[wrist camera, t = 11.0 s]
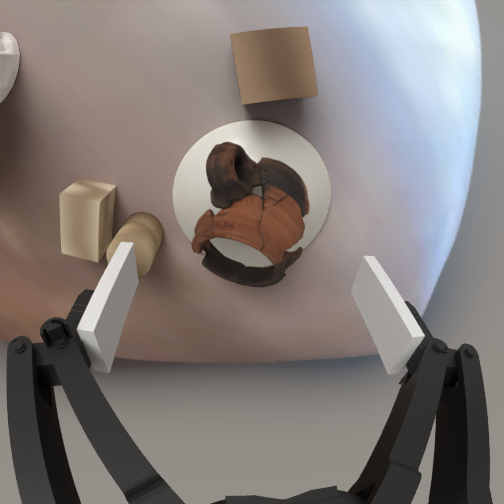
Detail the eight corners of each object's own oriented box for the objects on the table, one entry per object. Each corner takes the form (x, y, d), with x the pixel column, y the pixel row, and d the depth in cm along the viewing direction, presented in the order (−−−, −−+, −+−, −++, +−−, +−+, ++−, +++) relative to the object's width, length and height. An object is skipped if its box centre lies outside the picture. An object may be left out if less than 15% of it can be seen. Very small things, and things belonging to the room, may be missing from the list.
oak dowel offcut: (126, 247, 28) (110, 277, 24) (122, 211, 26) (103, 236, 22) (164, 250, 29) (152, 281, 24) (163, 213, 27) (149, 239, 22)
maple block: (78, 232, 27) (61, 253, 24) (80, 178, 24) (59, 193, 21) (112, 240, 28) (98, 262, 25) (116, 185, 25) (99, 202, 22)
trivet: (174, 260, 29) (173, 262, 29) (175, 115, 22) (174, 115, 22) (312, 269, 31) (313, 271, 30) (343, 132, 23) (344, 133, 23)
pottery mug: (326, 217, 28) (312, 295, 23) (240, 224, 32) (214, 291, 28) (281, 104, 19) (247, 176, 15) (180, 133, 24) (130, 200, 20)
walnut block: (241, 101, 22) (242, 104, 18) (231, 44, 19) (229, 34, 15) (302, 93, 22) (317, 96, 17) (294, 37, 19) (307, 26, 15)
